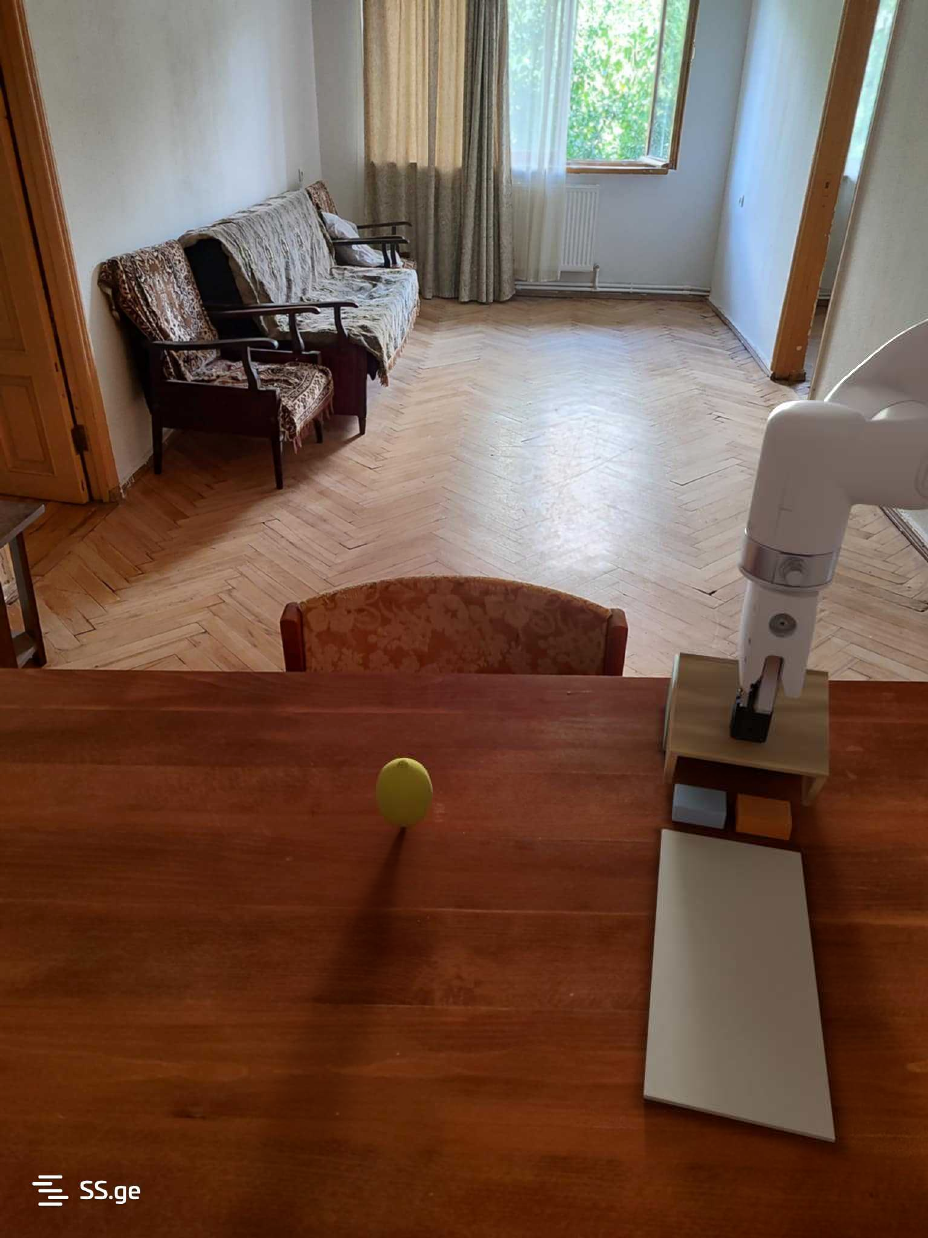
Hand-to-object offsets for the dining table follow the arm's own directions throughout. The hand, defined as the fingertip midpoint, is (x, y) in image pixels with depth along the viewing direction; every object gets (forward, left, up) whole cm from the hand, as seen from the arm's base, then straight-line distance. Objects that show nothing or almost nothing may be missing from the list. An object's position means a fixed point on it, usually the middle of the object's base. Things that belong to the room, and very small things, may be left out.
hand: (747, 735), depth 81 cm
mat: (+13, +8, -12) cm, 20 cm away
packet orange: (-3, +2, -12) cm, 12 cm away
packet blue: (0, -3, -12) cm, 12 cm away
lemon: (+22, -23, -12) cm, 34 cm away
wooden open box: (-8, -4, 0) cm, 10 cm away
